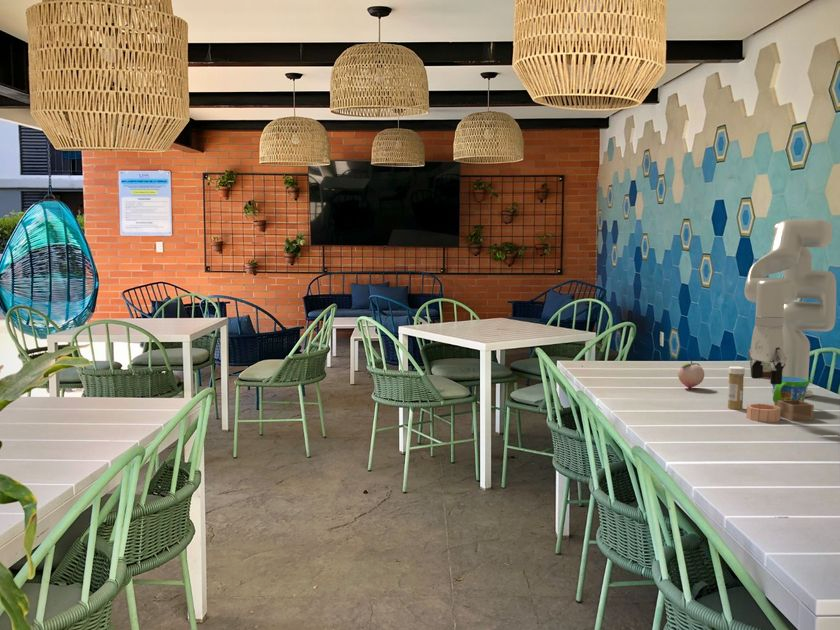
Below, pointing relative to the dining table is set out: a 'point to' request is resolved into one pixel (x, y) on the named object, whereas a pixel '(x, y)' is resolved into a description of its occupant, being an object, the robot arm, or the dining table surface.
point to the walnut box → (796, 410)
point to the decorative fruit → (691, 374)
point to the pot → (763, 412)
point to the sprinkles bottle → (735, 388)
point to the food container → (766, 368)
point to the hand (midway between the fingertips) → (766, 381)
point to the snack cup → (790, 389)
